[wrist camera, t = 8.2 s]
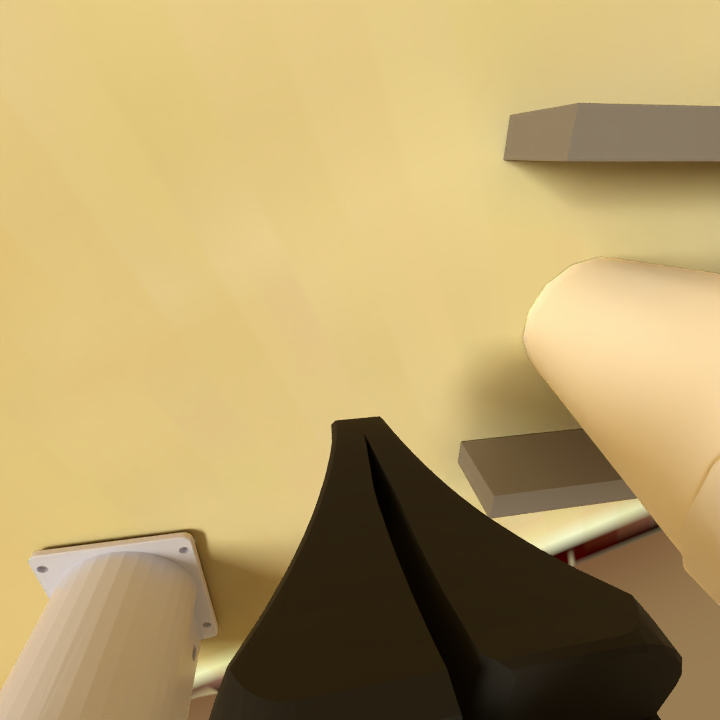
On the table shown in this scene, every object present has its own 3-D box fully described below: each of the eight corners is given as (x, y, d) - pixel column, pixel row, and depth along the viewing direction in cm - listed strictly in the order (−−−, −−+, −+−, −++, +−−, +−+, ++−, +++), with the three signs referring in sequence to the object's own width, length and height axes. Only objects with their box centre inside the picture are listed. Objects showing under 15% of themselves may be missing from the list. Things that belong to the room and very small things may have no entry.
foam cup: (576, 183, 16) (1219, 259, 5) (710, 268, 19) (1301, 434, 8) (459, 371, 20) (688, 665, 9) (588, 419, 23) (884, 682, 12)
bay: (692, 435, 25) (758, 481, 21) (458, 462, 23) (489, 518, 19) (844, 121, 17) (988, 112, 14) (510, 115, 15) (578, 102, 11)
